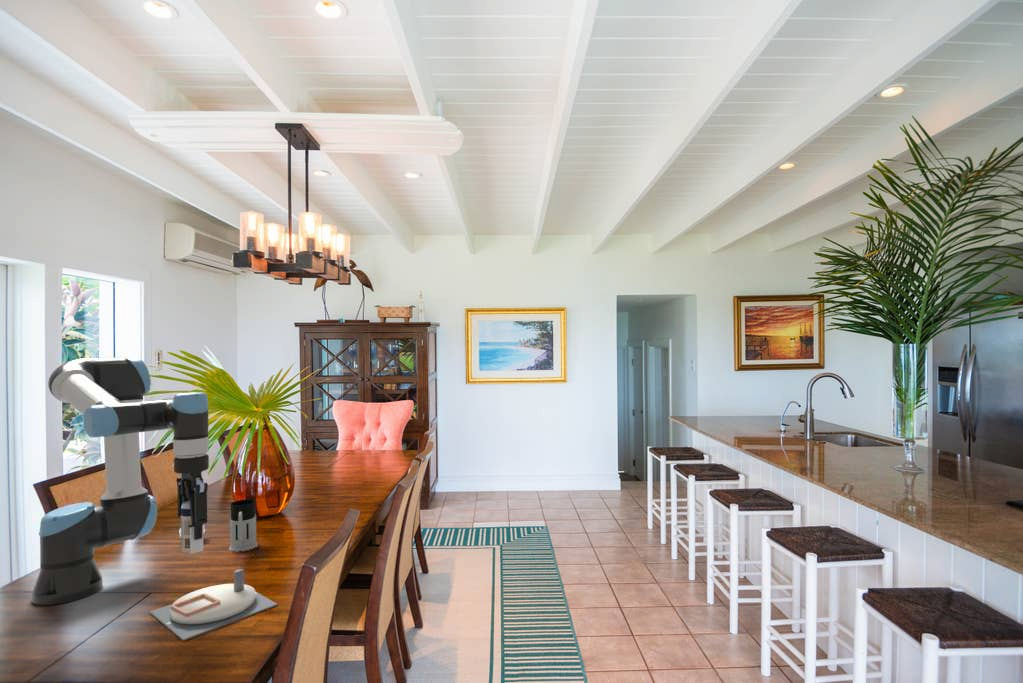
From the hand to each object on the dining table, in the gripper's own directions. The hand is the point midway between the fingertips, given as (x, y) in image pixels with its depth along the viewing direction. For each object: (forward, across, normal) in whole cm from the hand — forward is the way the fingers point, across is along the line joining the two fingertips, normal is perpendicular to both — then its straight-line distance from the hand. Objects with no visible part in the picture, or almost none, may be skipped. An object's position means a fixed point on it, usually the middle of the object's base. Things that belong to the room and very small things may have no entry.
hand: (192, 549), depth 137 cm
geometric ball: (+17, +61, -21) cm, 67 cm away
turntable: (+17, 0, -5) cm, 17 cm away
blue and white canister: (+1, 0, 0) cm, 1 cm away
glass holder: (+17, +38, -29) cm, 51 cm away
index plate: (+17, 0, -5) cm, 17 cm away
